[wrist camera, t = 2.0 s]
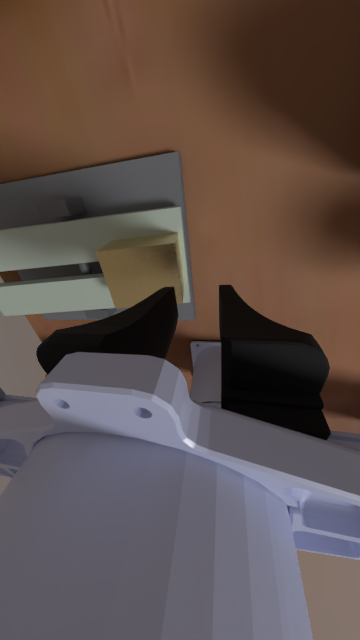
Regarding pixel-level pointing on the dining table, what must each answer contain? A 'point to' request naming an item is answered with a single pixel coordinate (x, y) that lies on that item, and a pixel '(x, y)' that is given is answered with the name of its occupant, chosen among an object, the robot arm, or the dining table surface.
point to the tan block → (141, 268)
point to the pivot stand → (96, 210)
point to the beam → (75, 259)
